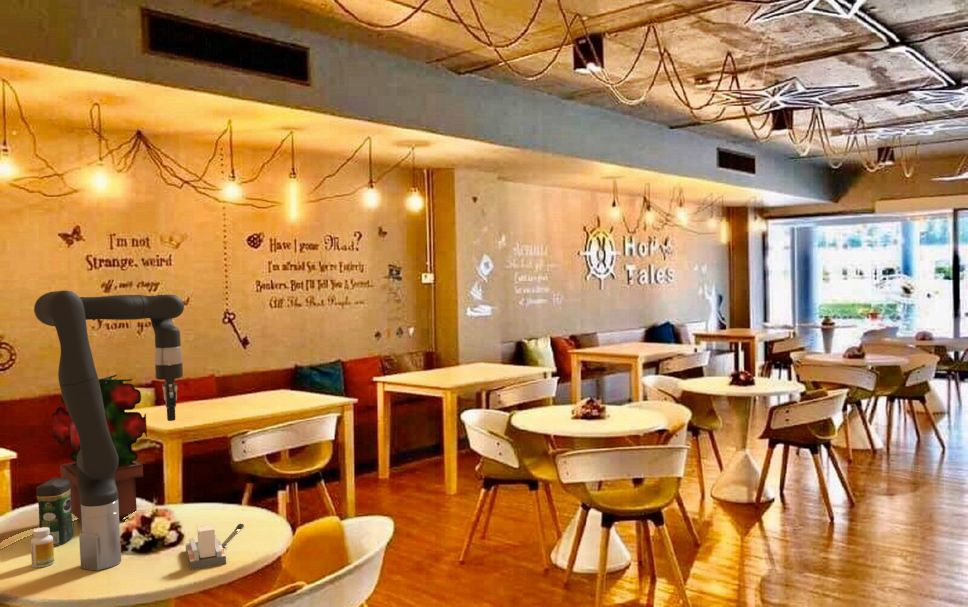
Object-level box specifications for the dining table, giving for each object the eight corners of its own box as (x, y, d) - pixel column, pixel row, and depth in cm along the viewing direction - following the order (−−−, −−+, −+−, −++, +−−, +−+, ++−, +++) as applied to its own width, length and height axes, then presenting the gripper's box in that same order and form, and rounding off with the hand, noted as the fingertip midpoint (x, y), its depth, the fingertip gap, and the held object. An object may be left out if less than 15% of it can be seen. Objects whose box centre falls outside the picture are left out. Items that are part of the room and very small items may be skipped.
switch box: (185, 550, 229) (185, 538, 229) (219, 545, 233) (218, 533, 233) (190, 569, 215) (190, 556, 215) (226, 563, 219) (225, 551, 218)
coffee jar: (51, 536, 245) (47, 476, 244) (77, 535, 245) (74, 475, 244) (34, 548, 235) (31, 484, 234) (62, 547, 235) (58, 483, 234)
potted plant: (129, 504, 277) (122, 373, 274) (150, 518, 260) (144, 379, 257) (57, 518, 262) (50, 380, 260) (75, 535, 246) (67, 387, 243)
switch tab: (198, 553, 220) (197, 527, 220) (213, 550, 222) (212, 525, 222) (199, 558, 217) (198, 531, 216) (215, 555, 218) (214, 529, 218)
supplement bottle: (59, 561, 223) (57, 527, 223) (42, 569, 218) (40, 533, 218) (43, 559, 225) (42, 525, 225) (27, 566, 220) (25, 531, 219)
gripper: (154, 360, 243) (156, 418, 244) (156, 365, 231) (158, 425, 232) (180, 359, 247) (183, 415, 247) (184, 363, 235) (186, 422, 235)
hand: (171, 420), depth 240 cm, fingers closed
